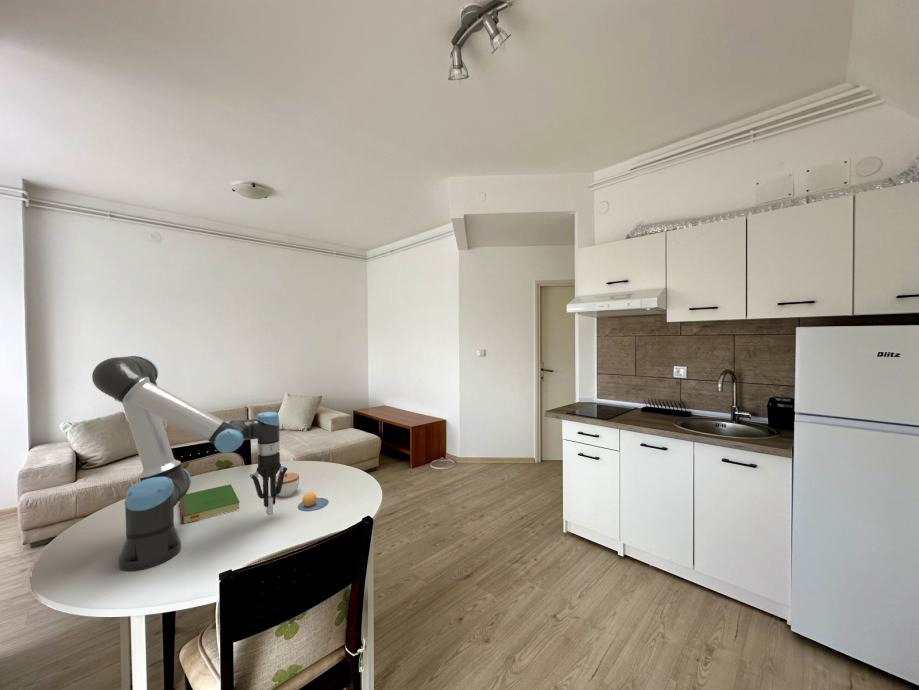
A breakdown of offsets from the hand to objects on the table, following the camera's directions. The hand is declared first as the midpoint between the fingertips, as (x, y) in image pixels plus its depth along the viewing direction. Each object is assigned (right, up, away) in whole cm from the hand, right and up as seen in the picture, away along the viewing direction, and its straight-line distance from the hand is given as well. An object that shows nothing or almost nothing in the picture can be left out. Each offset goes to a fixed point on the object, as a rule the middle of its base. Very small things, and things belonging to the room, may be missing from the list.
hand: (269, 513), depth 141 cm
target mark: (+12, -2, +12) cm, 17 cm away
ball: (+11, +1, +11) cm, 15 cm away
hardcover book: (-31, -3, +11) cm, 33 cm away
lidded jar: (-4, -2, +23) cm, 23 cm away
